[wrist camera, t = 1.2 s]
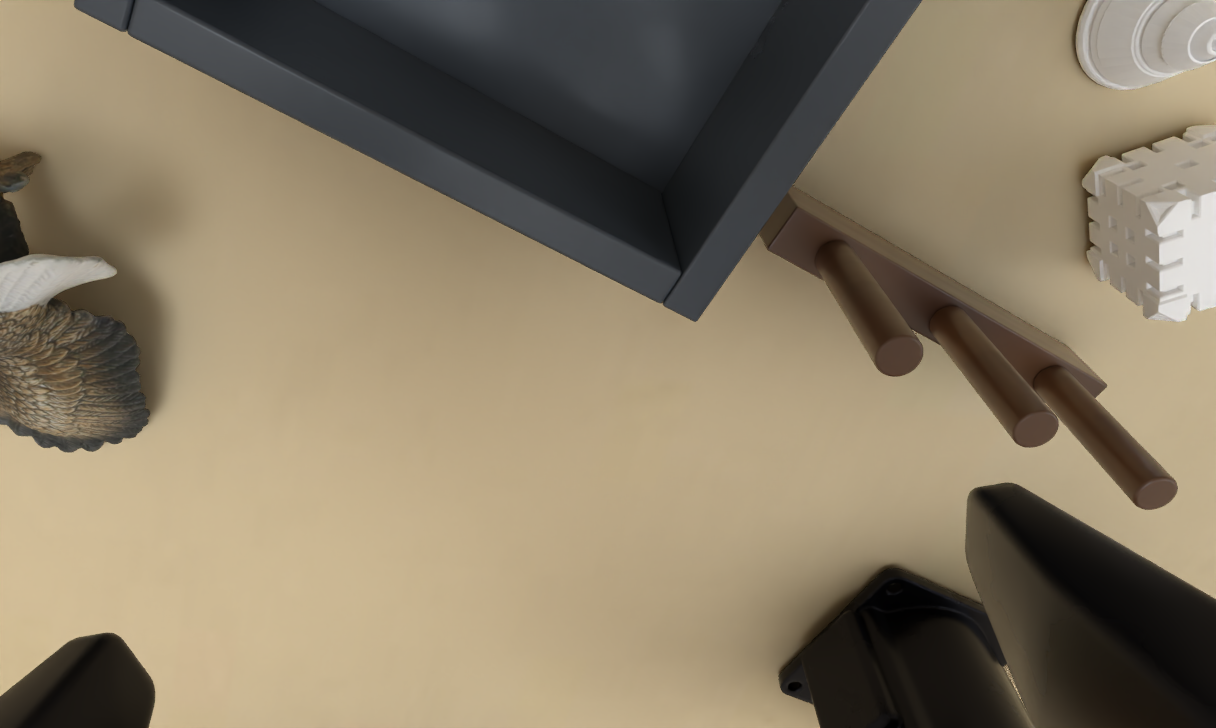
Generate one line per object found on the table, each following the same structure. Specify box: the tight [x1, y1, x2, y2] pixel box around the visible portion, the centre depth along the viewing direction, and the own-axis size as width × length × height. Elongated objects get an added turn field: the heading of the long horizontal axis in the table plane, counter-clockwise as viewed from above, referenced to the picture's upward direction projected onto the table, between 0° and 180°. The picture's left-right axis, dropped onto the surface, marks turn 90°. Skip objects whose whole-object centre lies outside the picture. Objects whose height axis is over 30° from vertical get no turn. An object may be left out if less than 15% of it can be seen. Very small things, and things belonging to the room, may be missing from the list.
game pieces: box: [1076, 0, 1216, 322], centre depth 17 cm, size 12×3×3 cm, turn 20°
